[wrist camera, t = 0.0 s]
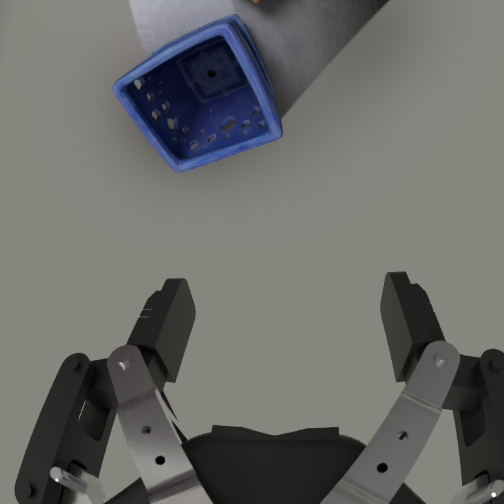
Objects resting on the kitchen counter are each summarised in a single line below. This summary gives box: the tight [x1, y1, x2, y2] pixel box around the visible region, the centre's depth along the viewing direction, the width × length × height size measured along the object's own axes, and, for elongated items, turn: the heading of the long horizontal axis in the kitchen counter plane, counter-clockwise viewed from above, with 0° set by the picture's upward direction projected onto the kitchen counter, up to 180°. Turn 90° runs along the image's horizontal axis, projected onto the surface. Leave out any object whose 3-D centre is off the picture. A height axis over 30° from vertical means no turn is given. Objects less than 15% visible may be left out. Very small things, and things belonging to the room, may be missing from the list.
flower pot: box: [112, 14, 283, 172], centre depth 30 cm, size 13×13×12 cm
